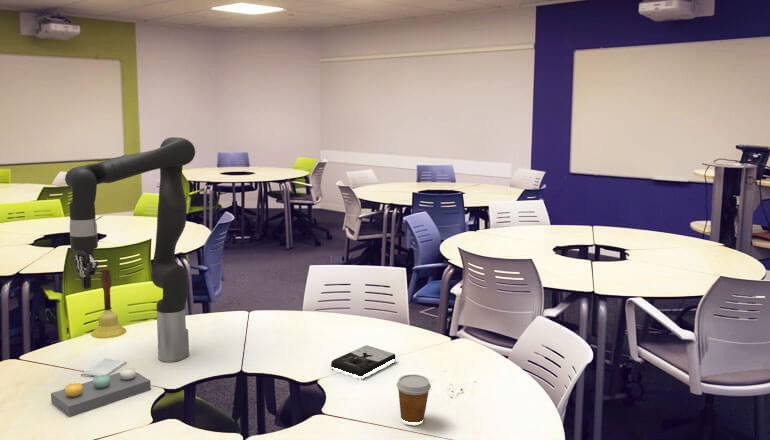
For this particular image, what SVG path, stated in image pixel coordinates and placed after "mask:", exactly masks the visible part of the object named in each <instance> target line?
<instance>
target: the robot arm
mask: <svg viewBox="0 0 770 440" xmlns="http://www.w3.org/2000/svg"><path fill="white" fill-rule="evenodd" d="M195 157H196V148H195V146H194V144H193V143H192V142H191V141H190V140H189V139H187V138H183V137H177V136H176V137H174V136H171V137H167V138H166V139H164V140H163V141H162V142H161V144H160V147H158V148H155V149H151V150H148V151H143V152H137V153H136V152H135V153H130V154H124V155H120V156H117V157H113V158H109V159H106V160H103V161H100V162H97V163H96V162H95V163H89V164H83V165H80V166H79V165H78V166H75V167H73V168H70V169H69V170H68V171H67V172H66V174H65V177H64V181H65V185H67V187H68V188H70V189H71V190H72V191H71V192H72V193H71V195H72V197H71V199H72V200H71V201H70V203H69V206H68V207H69V208H68V209H69V239H70V240H69V241H70V249H71V250H72V251H75V255H72V261H73V264H74V267H75V269H76V272H77V274H79V275H80V277H81V287H82V289H85V290H87V289H91V288H92V276H95V275H96V272H97V269H98V267H99V261H95V254H94V250H95V249H98V247H99V242H98V241H99V240H98V226H97V219H96V206H95V205H96V203H95V202H96V197H97V190H98V189H97V188H98V187H97V185H100V184H112V183H115V182H118V181H122V180H126V179H128V178H131V177H135V176H138V175H140V174H144V173H148V172H151V171H155V170H159V174H160V175H159V176H160V177H159V181H160V182H159V191H158V204H157V214H156V215H157V219H156V234H155V235H156V236H155V248H154V255H153V258H152V259H153V260H152V266H151V273H150V278H151V281H152V284H153V285H154V286H156V287H157V288H160V289H161V290H162V299H159V300H158V301H157V302H156V324H157V325H156V327H157V329H156V330H157V355H158V356H157V357H158V360H159V361H161V362H165V363H171V362H173V363H174V362H178V361H183V360H184V359H185V358H187V357H189V355H190V354H189V353H190V349H189V348H190V344H189V343H190V341H189V329H188V328H187V324H186V319H187V318H186V303H187V301H188V289H189V288H188V287H189V285H188V284H189V280H188V279H189V277H188V272H187V270H186V268H185V266H183V265H181V264H178V263H175V253H176V247H177V244H178V242H179V240H180V237H181V236H182V234H183V232H184V231H185V228H186V223H187V210H188V207H187V206H188V203H187V198H186V193H185V190H184V187H183V168H184V166H187V165H188V164H190V163H192V161H193V160H194V159H195Z"/></svg>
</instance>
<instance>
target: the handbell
mask: <svg viewBox="0 0 770 440" xmlns="http://www.w3.org/2000/svg"><path fill="white" fill-rule="evenodd" d="M100 281H101V287H102V290H103V299H104V300H103V301H104V303H103V304H104V310H103V312H102V313H101V314H100V315H99V316H98V325H97V327H96V328H95V329H94V330H93V331H92V332H91V334H90V335H91V337H92V338H94V339H113V338H118V337H120V336H121V337H122V336H123V335H125V334H126V333H127V329H126V328H125V327H124V326H122V325H121V324H120V323H119V318H118V314H117V313H116V312H114V311H112V306H111V289H112V276H111V271H110V268H109V267H105V268H102V271H101V277H100Z"/></svg>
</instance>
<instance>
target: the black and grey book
mask: <svg viewBox="0 0 770 440" xmlns="http://www.w3.org/2000/svg"><path fill="white" fill-rule="evenodd" d="M395 358H396V354H395V353H393V352H390V351H387V350H384V349H380V348H377V347H374V346H370V345H367V344H365V345H364V346H361V347H359V348H357V349H355V350H352V351H350V352H348V353H346V354H343V355H341V356H339V357H337V358H334V359H333V360H331V364H330V368H331V367H334V368H338V369H341V370H343V371H346V372H349V373H352V374H356V375H358V376H363V375H364V374H366V373H368V372H370V371H372V370H373V369H375V368H377V367H379V366H381V365H383V364H385V363H386V362H388V361H390V360H392V359H395ZM395 360H396V359H395Z"/></svg>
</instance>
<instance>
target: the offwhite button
mask: <svg viewBox="0 0 770 440" xmlns="http://www.w3.org/2000/svg"><path fill="white" fill-rule="evenodd" d="M119 372H120V378H121V379H131V378H134V377H135V376H136V372H137V371H136V368H135V367H131V366H130V367H128V366H127V367H124V368H123V367H122V368H120V369H119Z"/></svg>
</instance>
